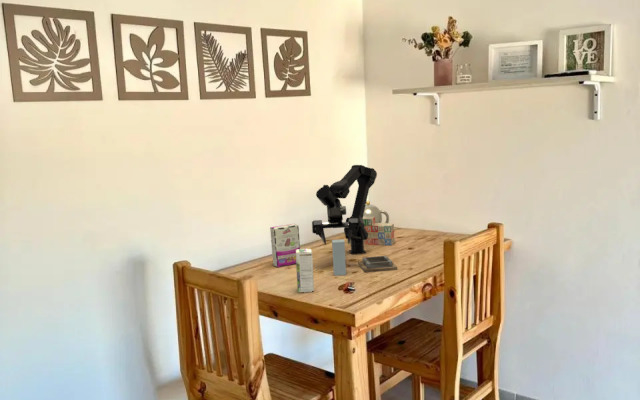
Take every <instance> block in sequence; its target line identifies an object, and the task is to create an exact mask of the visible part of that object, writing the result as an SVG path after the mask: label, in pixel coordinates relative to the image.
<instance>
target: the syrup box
mask: <svg viewBox="0 0 640 400" xmlns="http://www.w3.org/2000/svg"><path fill="white" fill-rule="evenodd" d="M313 261H314V260H313V250H312V248H300V249H297V250H296V264H295V268H296V270H295V271H296V285H297V286H296V287H297V293H298V294H299V292H304V293H313V292H312V291H314V292H315V288H314V287H315V285H314V263H313Z"/></svg>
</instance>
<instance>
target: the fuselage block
mask: <svg viewBox="0 0 640 400" xmlns="http://www.w3.org/2000/svg"><path fill="white" fill-rule="evenodd" d="M331 244H332V245H331V246H332V264H333V265H332V267H333V270H332V271H333V275H334V277H335V276H347V267H346V244H345V239H342V238H341V239H331Z"/></svg>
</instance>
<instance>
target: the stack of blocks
mask: <svg viewBox="0 0 640 400" xmlns="http://www.w3.org/2000/svg"><path fill="white" fill-rule="evenodd" d="M350 217H351V216H349V217H348V218H350ZM363 221H364V224H365V227H364V228H365V230H366V231H367V233H368V238H367V240H363V241H364V244H368V246H369V245H370V246H371V245H372V246H392V245H393V244H395V223H394V222H393V223H392V222H390V223H389V222H388V223H385V222H381V223H375V217H363ZM347 245H351V241H350V243H348V242H347Z"/></svg>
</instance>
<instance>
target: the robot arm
mask: <svg viewBox="0 0 640 400" xmlns="http://www.w3.org/2000/svg"><path fill="white" fill-rule="evenodd" d="M377 176H378V172H377V171H376V170H375V169H374V168H373V167H372V168H371V167H367V166H365V165H362V164H354V165H351V167H350V169H349V170H348V171H347V173H346V174H345V175H344V176H343V177H342V178H341V179H340V180H337V181H335V182H333V183H332V184H330V186H329V185H328V184H323V186H322V187H320V188H319V189H317V191H316V193H315V196H316V198H317V199H318V200H319V202H321V204H322V205H323V206H326V210H327V211H326V212H327V213H326V214H327V222H323V220H321V219H319V220H317V219H316V220H312V221H311V228H312V229H311V231H312V234H315V236H319V237H320V238H321V240H322V242H323V244H324V245H327V239H326V236H325V231H324V230H325V229H343V232H344V236H345V239H346V240H347V244H348V243H350V241H351V244H350V249H349V251H348V252H349V253H350V254H351V255H362V254H366V253H367V251H366V250H365V246H364V241H363V240H367V238H368V233H367V231H366V230H365V228H364V227H365V224H364V221H363V214H364V210H365V205H367V204H366V202H367V201H368V197H369V196H368V195H369V192H370V188H371V187H372V186H373V185H374V184H375V183H376V178H377ZM355 182H357V185H358V186H357V191H356V195H355V199H354V203H353V204H354V205H353V209H352V212H351V215H350V216H349V217H350V218H349V217H346V219H345V221H344V222H343V220H344V218H343V216H345V215H347V207H346V205H342V203H341V200H340V199H346V198H347V197H348V195H349V194H350V188H351V186H352V185H354V183H355Z"/></svg>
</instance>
